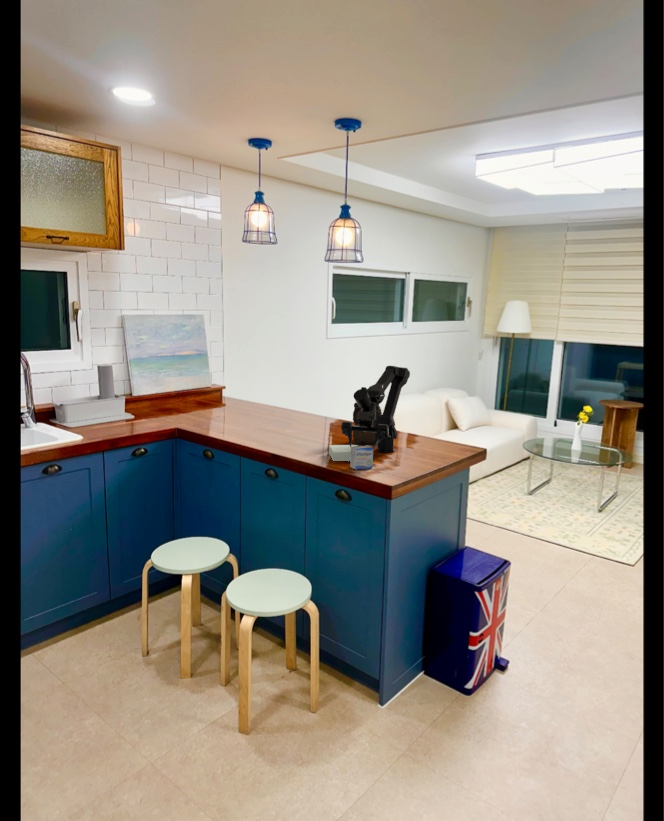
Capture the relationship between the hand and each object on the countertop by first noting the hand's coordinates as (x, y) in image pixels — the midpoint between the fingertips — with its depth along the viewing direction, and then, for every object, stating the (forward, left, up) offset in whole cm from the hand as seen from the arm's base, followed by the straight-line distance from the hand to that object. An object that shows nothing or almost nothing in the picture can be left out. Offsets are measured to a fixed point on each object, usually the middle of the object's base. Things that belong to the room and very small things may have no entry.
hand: (362, 447), depth 222 cm
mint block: (+4, -15, -8) cm, 18 cm away
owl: (-10, -42, -9) cm, 44 cm away
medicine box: (0, 0, -9) cm, 9 cm away
